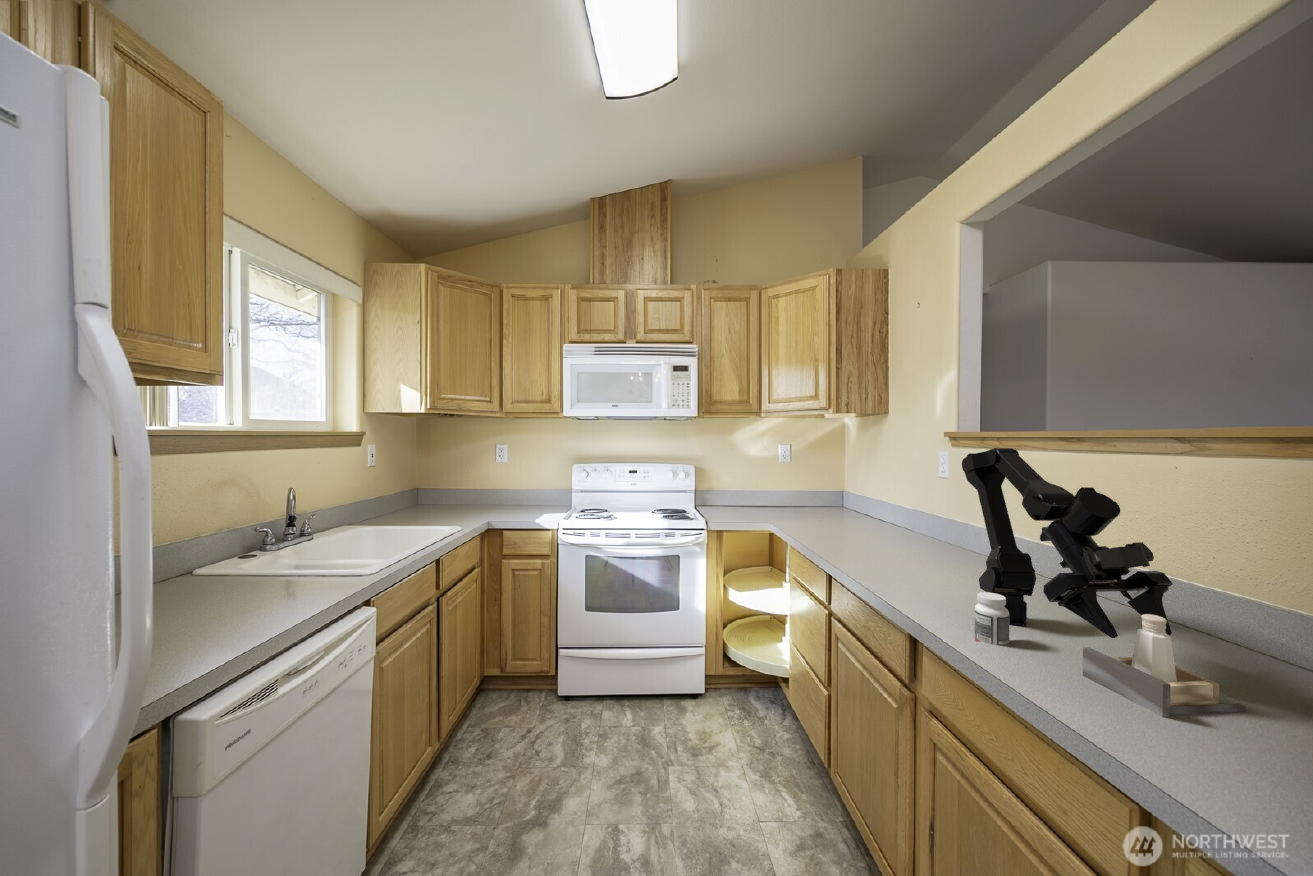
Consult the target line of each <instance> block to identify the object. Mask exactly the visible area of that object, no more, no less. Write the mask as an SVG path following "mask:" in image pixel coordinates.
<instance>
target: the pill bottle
mask: <svg viewBox="0 0 1313 876" xmlns="http://www.w3.org/2000/svg"><path fill="white" fill-rule="evenodd" d="M976 599H977V601H978V603H977V604H975V606H974V642H975V643H978V642H979V643H986V644H989V645H995V646H1008V645H1010V624H1009V611H1008V610H1007V609H1006V608H1005V607H1004V606H1005V605H1006V598H1005V597H1004V596H1002V595H999V594H996V593H990V592H986V591H981V592H978V593H977V597H976Z"/></svg>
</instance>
